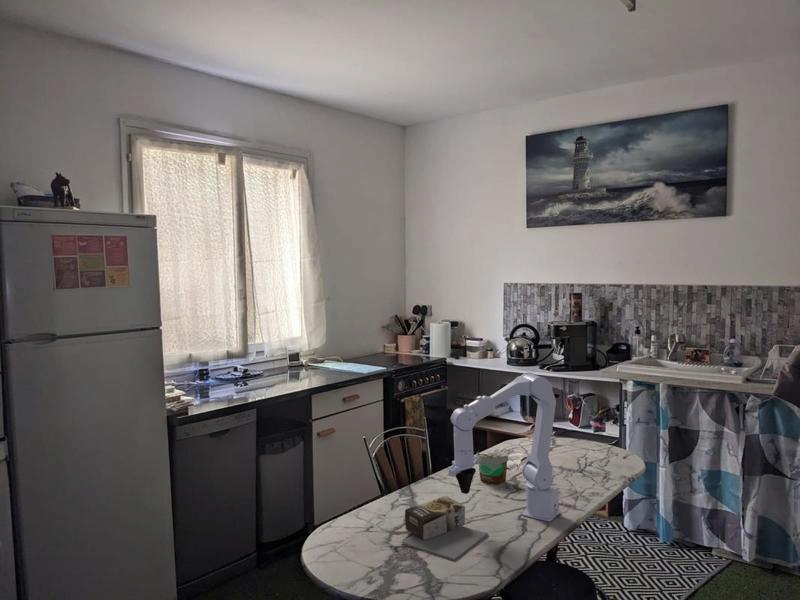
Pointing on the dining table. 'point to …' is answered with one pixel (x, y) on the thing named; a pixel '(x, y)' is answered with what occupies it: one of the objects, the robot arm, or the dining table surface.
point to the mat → (448, 542)
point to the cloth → (517, 462)
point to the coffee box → (434, 517)
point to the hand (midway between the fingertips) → (465, 492)
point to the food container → (492, 468)
